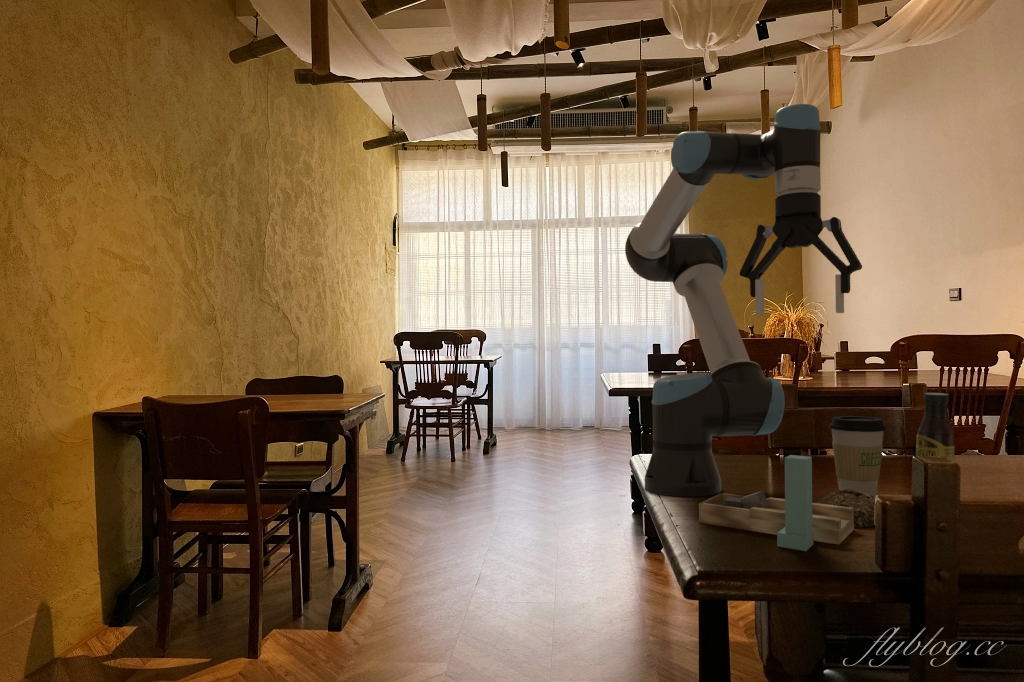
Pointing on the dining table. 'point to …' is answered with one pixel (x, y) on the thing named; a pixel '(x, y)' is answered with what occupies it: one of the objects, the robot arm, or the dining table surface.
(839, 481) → the coffee cup
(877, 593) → the dining table surface
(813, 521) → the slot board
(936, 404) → the sauce bottle
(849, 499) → the bread roll
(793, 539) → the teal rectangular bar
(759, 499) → the chip
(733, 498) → the chip
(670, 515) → the dining table surface
